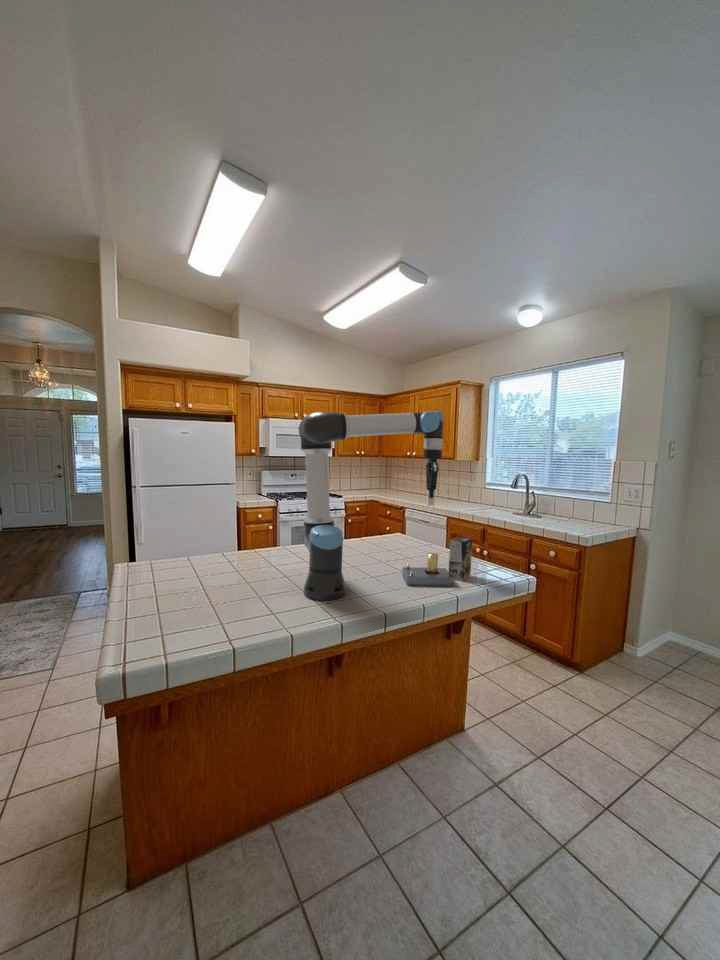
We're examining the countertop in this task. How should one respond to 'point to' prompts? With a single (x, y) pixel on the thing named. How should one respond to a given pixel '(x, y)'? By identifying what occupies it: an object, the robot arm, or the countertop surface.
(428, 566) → the cylinder
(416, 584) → the jig
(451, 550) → the coffee box
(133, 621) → the countertop surface
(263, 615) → the countertop surface
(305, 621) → the countertop surface
